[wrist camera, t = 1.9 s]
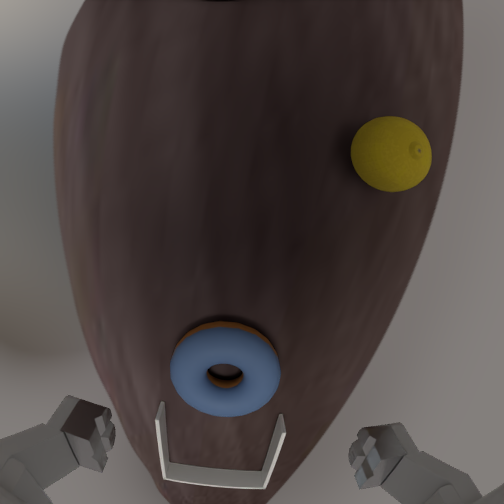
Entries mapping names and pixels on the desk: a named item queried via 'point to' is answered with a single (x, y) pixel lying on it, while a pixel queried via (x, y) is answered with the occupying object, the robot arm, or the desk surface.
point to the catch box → (213, 474)
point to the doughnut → (227, 352)
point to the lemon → (391, 154)
